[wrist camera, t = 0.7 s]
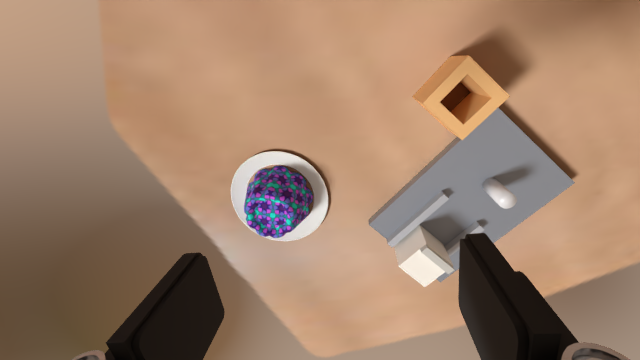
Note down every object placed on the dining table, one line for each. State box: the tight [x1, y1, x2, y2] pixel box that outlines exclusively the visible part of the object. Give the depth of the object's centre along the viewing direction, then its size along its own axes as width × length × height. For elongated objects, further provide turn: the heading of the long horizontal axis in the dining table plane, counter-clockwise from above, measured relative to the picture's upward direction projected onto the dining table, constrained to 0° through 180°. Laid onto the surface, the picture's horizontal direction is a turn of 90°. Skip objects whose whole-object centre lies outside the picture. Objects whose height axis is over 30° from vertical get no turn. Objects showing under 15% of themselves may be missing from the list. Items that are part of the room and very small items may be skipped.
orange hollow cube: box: [413, 55, 510, 140], centre depth 28 cm, size 5×5×5 cm
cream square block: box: [394, 224, 454, 287], centre depth 33 cm, size 4×4×5 cm
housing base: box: [369, 108, 575, 282], centre depth 32 cm, size 18×12×5 cm, turn 141°
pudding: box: [231, 151, 328, 241], centre depth 34 cm, size 12×12×5 cm
